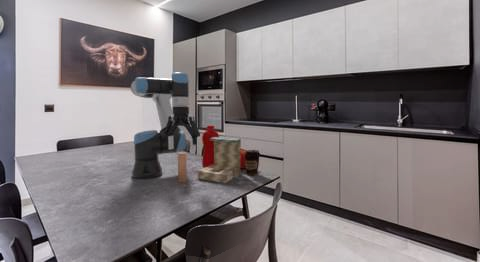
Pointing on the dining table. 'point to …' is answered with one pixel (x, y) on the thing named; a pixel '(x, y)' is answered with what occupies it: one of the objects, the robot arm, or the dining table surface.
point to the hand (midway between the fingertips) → (181, 150)
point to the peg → (182, 167)
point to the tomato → (243, 158)
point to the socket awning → (223, 160)
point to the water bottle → (208, 146)
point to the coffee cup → (252, 162)
